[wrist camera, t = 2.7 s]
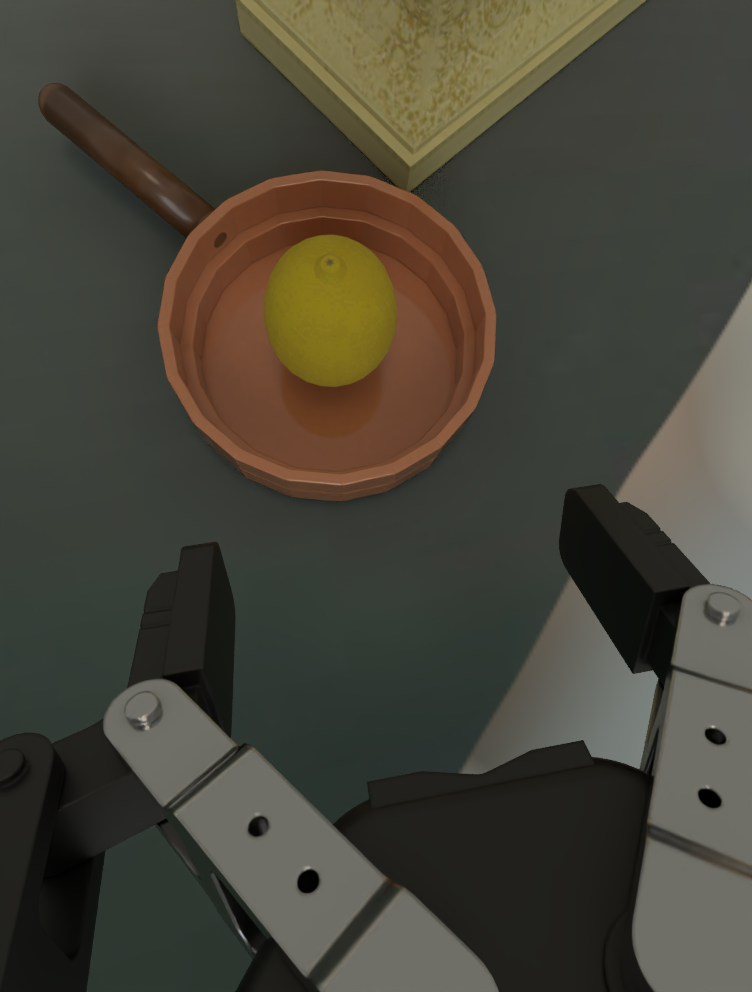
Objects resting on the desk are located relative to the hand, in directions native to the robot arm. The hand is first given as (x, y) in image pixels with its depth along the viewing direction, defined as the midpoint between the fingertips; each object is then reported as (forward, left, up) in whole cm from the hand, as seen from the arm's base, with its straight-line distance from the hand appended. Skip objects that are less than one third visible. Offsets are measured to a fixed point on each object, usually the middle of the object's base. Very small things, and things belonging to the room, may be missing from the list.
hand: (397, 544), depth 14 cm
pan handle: (-20, +7, -12) cm, 25 cm away
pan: (-8, +7, -14) cm, 18 cm away
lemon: (-8, +7, -14) cm, 18 cm away
